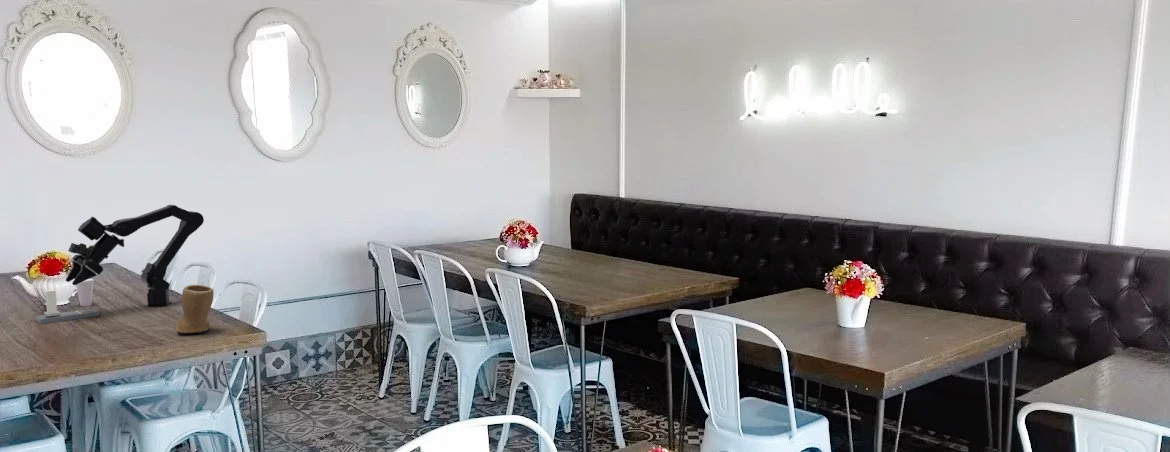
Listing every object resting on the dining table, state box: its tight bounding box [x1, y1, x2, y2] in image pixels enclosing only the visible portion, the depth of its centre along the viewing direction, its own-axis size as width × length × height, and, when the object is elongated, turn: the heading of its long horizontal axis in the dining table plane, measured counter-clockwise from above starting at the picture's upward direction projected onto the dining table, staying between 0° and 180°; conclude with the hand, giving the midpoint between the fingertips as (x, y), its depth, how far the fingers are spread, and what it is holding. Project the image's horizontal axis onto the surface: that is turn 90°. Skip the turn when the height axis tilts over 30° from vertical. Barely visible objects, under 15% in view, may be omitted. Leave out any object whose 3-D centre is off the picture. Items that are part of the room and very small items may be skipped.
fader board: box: [34, 307, 100, 325], centre depth 303 cm, size 18×8×2 cm, turn 133°
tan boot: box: [175, 284, 215, 334], centre depth 281 cm, size 15×12×15 cm
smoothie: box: [75, 278, 95, 307], centre depth 324 cm, size 6×6×14 cm
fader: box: [43, 289, 62, 317], centre depth 299 cm, size 4×5×9 cm
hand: (69, 282), depth 302 cm, fingers open, 9 cm apart
